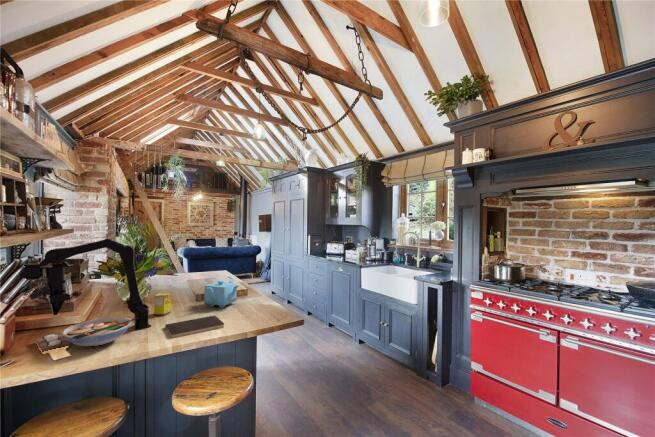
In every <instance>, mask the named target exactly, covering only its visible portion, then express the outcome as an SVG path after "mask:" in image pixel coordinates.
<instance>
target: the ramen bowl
mask: <svg viewBox="0 0 655 437" xmlns="http://www.w3.org/2000/svg"><path fill="white" fill-rule="evenodd" d="M135 319H138V318H135V317H134V318H129V317H122V316H113V317H111V316H110V317H101V318H94V319H91V320H86V321H82V322H80V323H79V322H78V323H77V324H73V325H70V326H69V327H67V328H64V329H63V332H62V334H63V335H64V336H65V337H66V338H67V340H68V341H69V342H70V343H72V344H73V345H76V346H79V347H88V346H98V345H102V346H104V345H103V344H105V345H107V344H106V343H108V344H109V343H111V342H113V341H115V340H118V339H119V338H120V337H121V336H123V335H124V334H125V333H126V331H128V330H129V327H130V326H132V325H131V324H132V322H133V321H134V320H135ZM98 347H99V346H98Z"/></svg>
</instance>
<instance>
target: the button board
mask: <svg viewBox="0 0 655 437" xmlns="http://www.w3.org/2000/svg"><path fill="white" fill-rule="evenodd" d="M53 334H54V335H58V340H61V344H56V345H52V346H48V345H49V342H48V343H46V342H47V339H45V340H44V337H45V336H47V335H48V334H47V335H46V334H45V335H41V336H38V337H37V336H36V337H34V341H35V340H36V342H37V343H38V345H39V347H40V348H41V350H42V352H44V351H48V350H52V349H56V348H61V347H65V346H69V345H70V346H71V342H70V341H69V340H68V339H67V338H66V337H65V336H64V335H63V332H55V333H51V334H49V335H53Z"/></svg>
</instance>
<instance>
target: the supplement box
mask: <svg viewBox="0 0 655 437" xmlns="http://www.w3.org/2000/svg"><path fill="white" fill-rule="evenodd" d="M171 311H172V293H171V292H159V293H157V294H154V296H153V315H154V316H159V315H160V316H162V317H163V316H166V315H168V314H169V315H170V313H171ZM160 316H159V317H160Z"/></svg>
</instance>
